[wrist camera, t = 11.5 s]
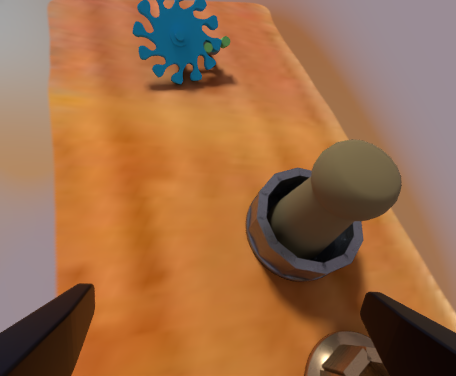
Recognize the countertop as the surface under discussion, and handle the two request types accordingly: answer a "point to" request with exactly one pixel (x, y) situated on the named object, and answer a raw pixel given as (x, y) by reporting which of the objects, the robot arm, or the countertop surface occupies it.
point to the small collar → (345, 356)
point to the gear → (179, 38)
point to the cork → (335, 197)
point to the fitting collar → (279, 255)
